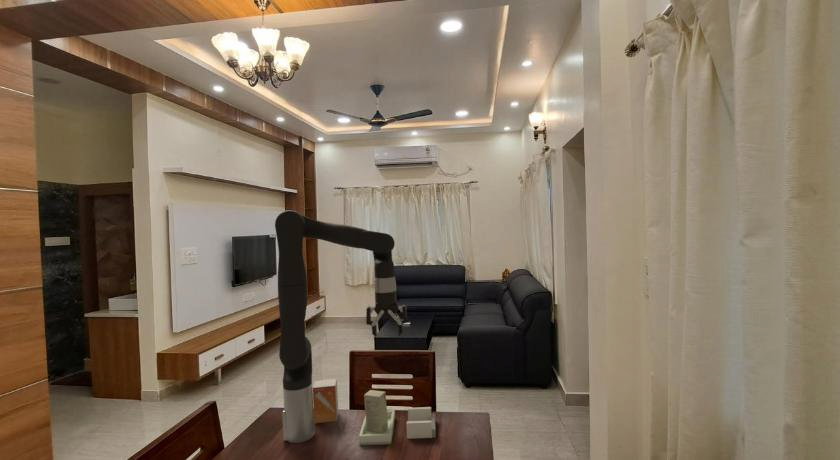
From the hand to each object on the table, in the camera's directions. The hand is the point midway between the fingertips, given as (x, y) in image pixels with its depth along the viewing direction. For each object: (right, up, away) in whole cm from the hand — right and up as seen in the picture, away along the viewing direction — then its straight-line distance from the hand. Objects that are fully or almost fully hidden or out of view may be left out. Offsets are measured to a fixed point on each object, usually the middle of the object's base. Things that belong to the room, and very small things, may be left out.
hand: (387, 335), depth 137 cm
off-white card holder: (+11, -30, -6) cm, 32 cm away
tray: (-3, -30, -6) cm, 31 cm away
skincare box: (-3, -30, -6) cm, 31 cm away
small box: (-22, -31, +4) cm, 39 cm away
